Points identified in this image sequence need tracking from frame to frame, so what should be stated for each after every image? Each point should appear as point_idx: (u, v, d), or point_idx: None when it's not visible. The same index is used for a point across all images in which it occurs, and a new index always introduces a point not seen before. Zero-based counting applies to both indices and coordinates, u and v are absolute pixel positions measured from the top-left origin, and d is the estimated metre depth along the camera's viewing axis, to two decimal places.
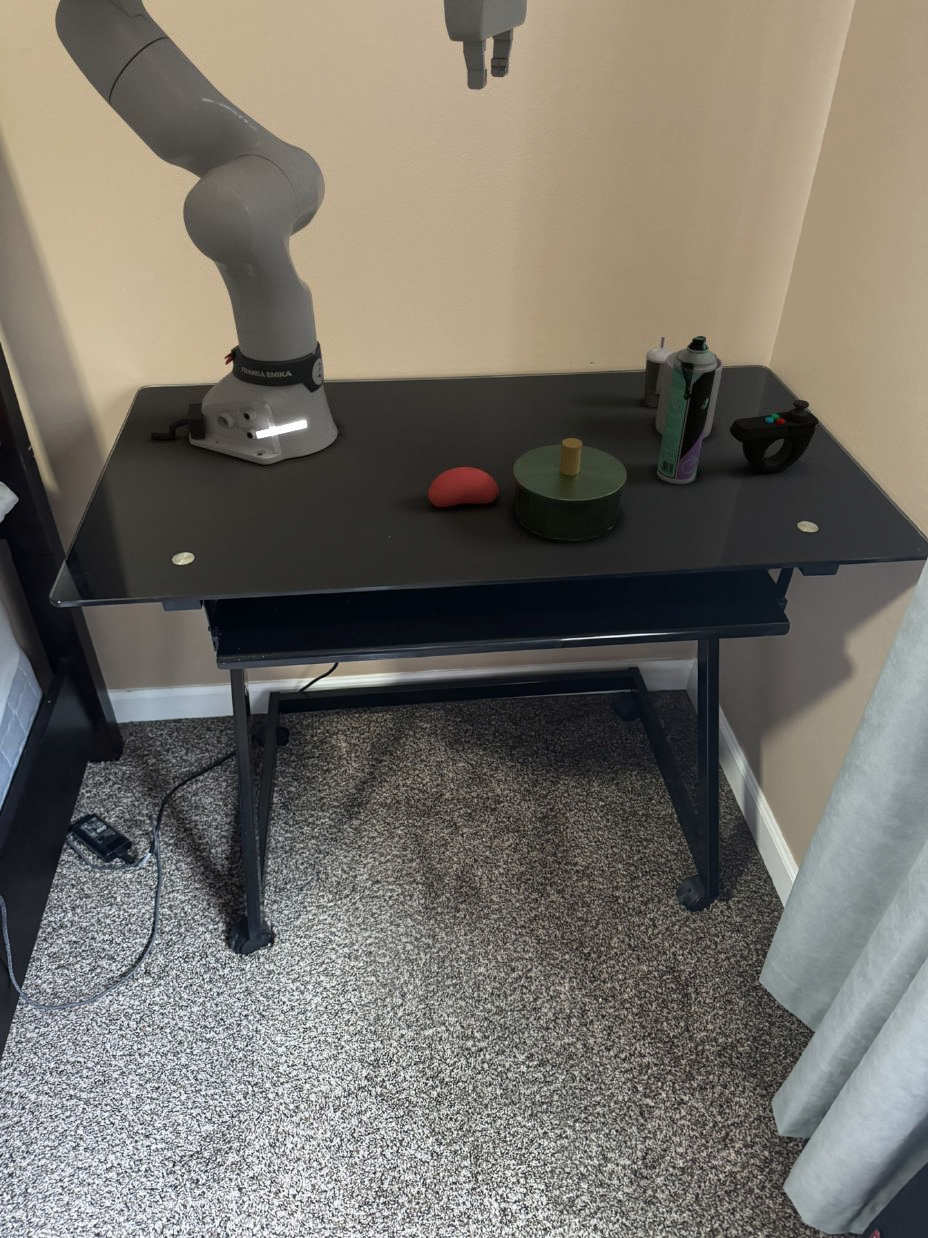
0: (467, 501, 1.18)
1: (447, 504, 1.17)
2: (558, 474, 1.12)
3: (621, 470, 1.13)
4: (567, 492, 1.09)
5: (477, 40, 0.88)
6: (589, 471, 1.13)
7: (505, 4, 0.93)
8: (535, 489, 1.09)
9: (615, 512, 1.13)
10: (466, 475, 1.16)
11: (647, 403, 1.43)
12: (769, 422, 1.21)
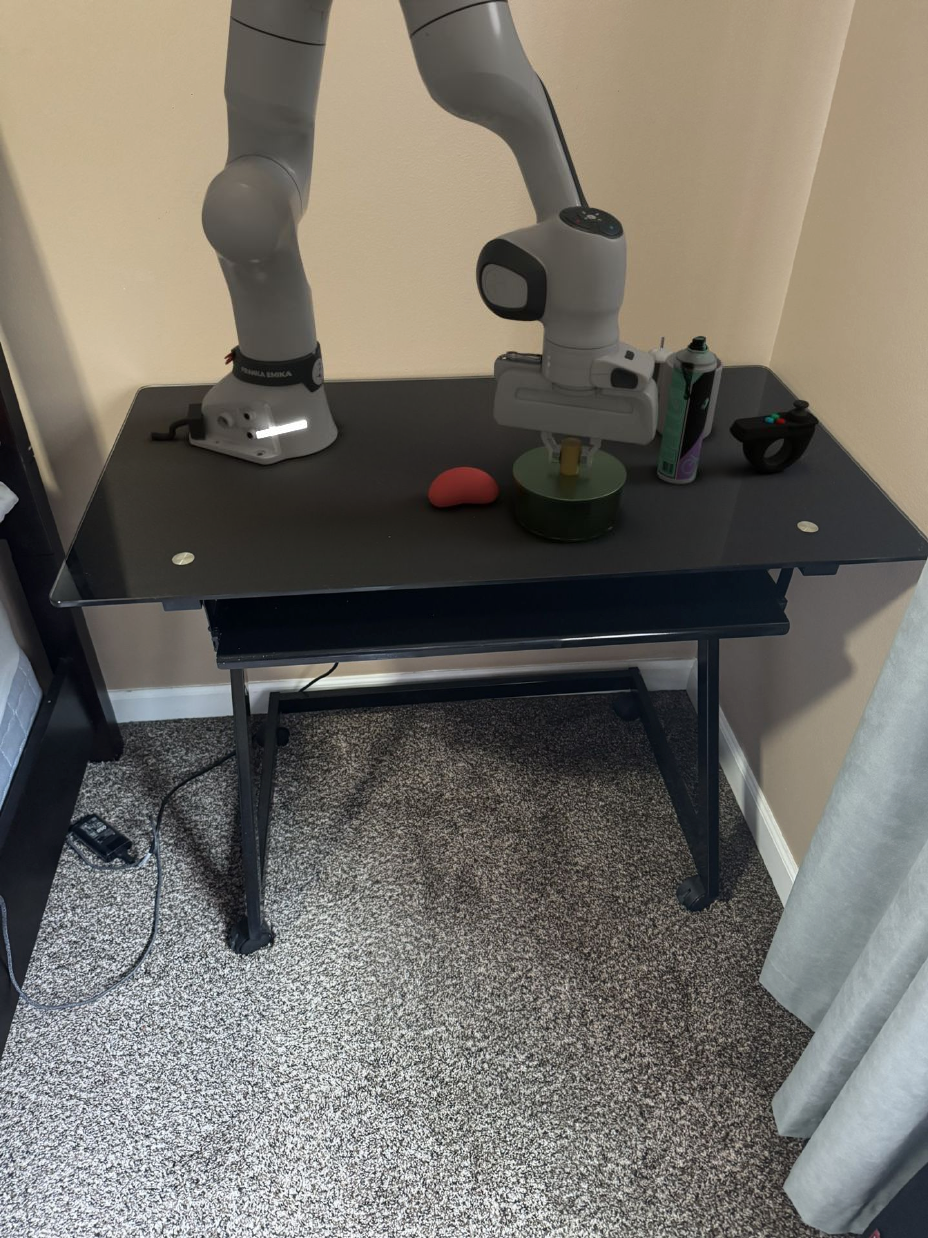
0: (467, 501, 1.18)
1: (447, 504, 1.17)
2: (558, 474, 1.12)
3: (621, 470, 1.13)
4: (567, 492, 1.09)
5: None
6: (589, 471, 1.13)
7: None
8: (535, 489, 1.10)
9: (615, 512, 1.13)
10: (466, 475, 1.16)
11: None
12: (769, 422, 1.21)
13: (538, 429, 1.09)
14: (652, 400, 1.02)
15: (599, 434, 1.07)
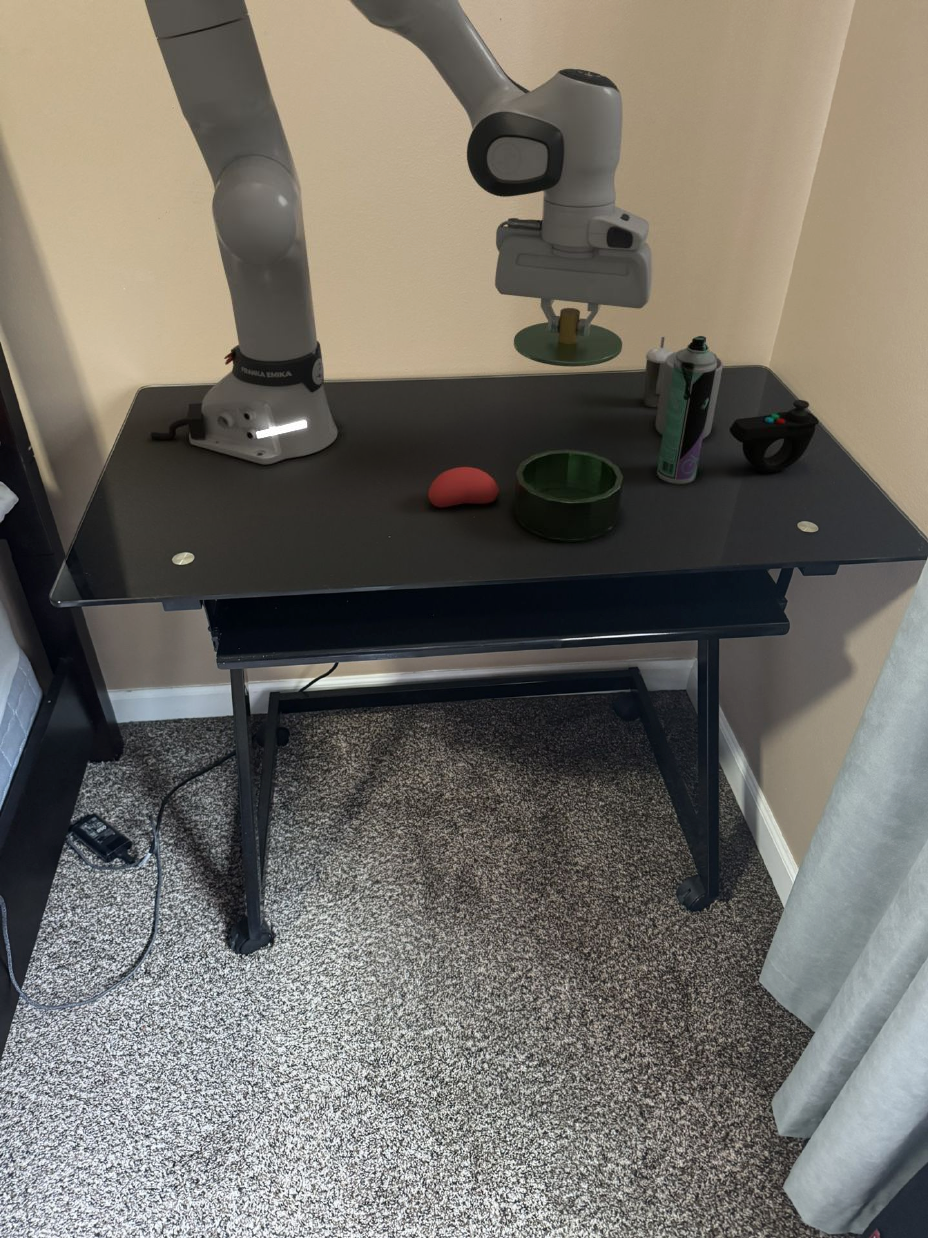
0: (467, 501, 1.18)
1: (447, 504, 1.17)
2: (557, 343, 1.18)
3: (617, 340, 1.18)
4: (565, 356, 1.14)
5: None
6: (586, 341, 1.18)
7: None
8: (534, 354, 1.15)
9: (615, 512, 1.13)
10: (466, 475, 1.16)
11: (647, 403, 1.43)
12: (769, 422, 1.21)
13: (538, 296, 1.14)
14: (646, 261, 1.07)
15: (596, 299, 1.12)
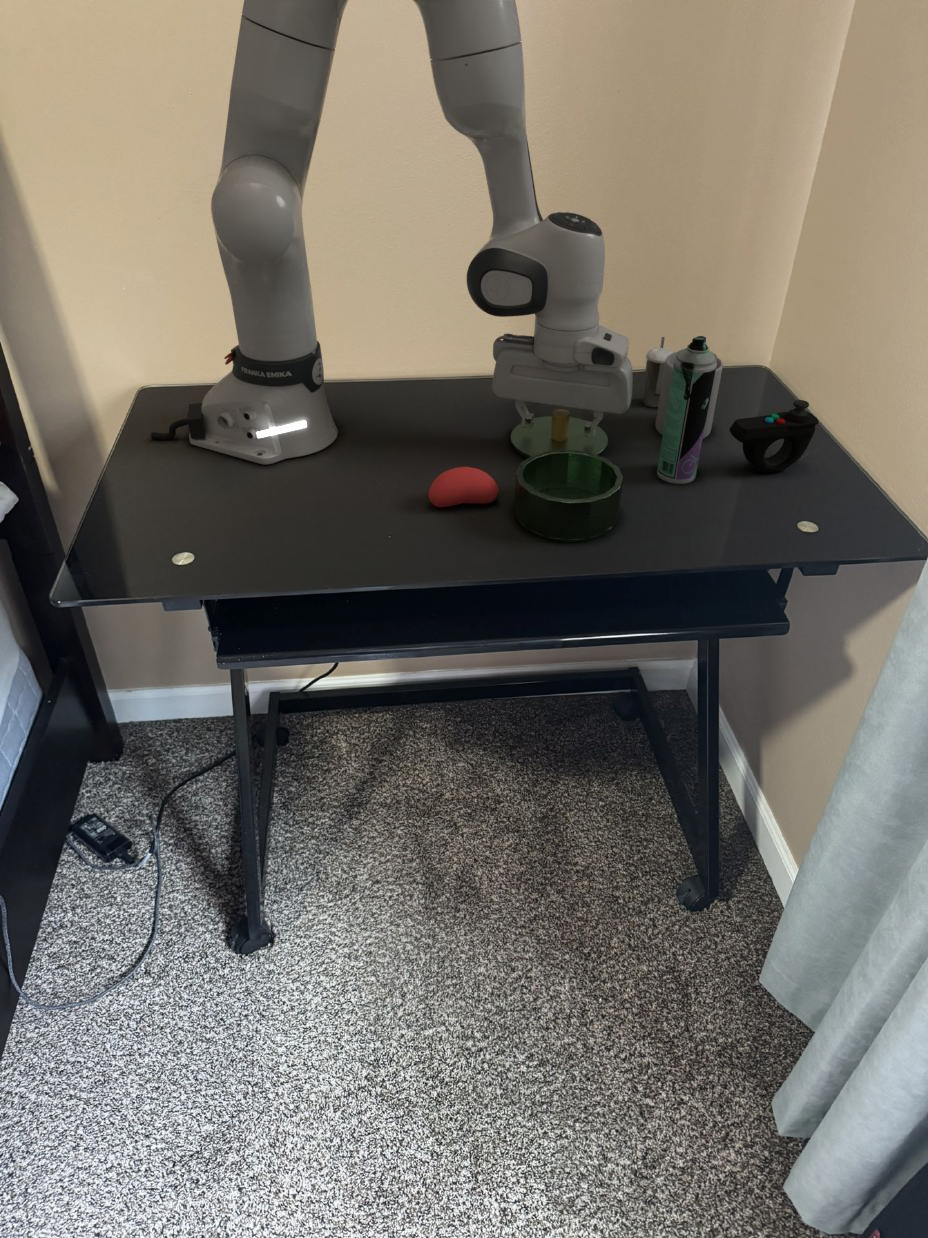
0: (467, 501, 1.18)
1: (447, 503, 1.17)
2: (549, 440, 1.31)
3: (603, 437, 1.32)
4: None
5: None
6: (576, 437, 1.32)
7: None
8: (529, 452, 1.28)
9: (615, 512, 1.13)
10: (466, 475, 1.16)
11: (647, 403, 1.43)
12: (769, 422, 1.21)
13: (530, 401, 1.28)
14: (627, 375, 1.21)
15: (582, 405, 1.25)
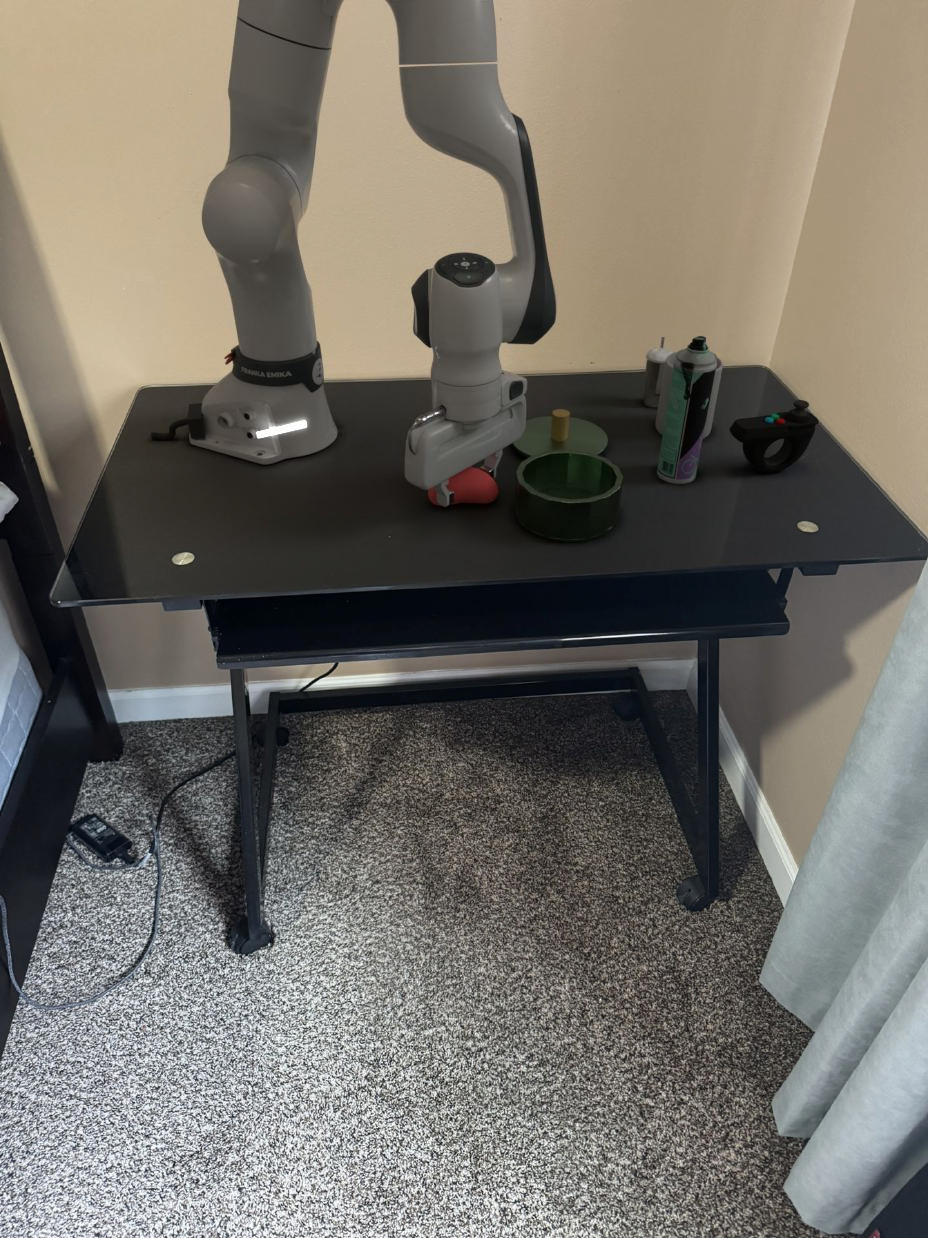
0: (466, 500, 1.18)
1: None
2: (549, 440, 1.31)
3: (603, 437, 1.32)
4: None
5: None
6: (576, 437, 1.32)
7: None
8: (529, 452, 1.28)
9: (615, 512, 1.13)
10: (466, 475, 1.16)
11: (647, 403, 1.43)
12: (769, 422, 1.21)
13: (456, 473, 1.12)
14: None
15: (495, 449, 1.16)
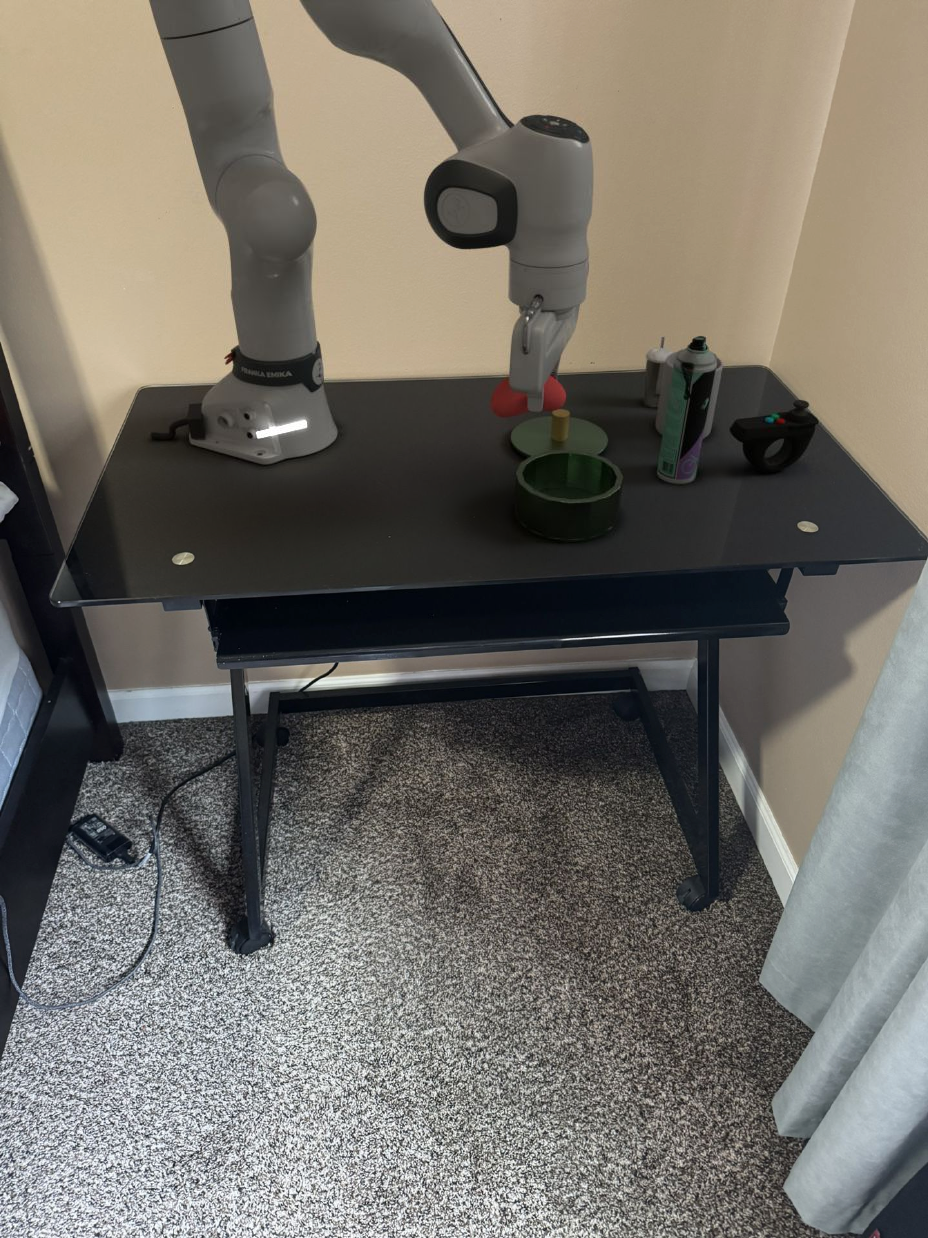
0: None
1: (513, 412, 1.06)
2: (549, 440, 1.31)
3: (603, 437, 1.32)
4: None
5: None
6: (576, 437, 1.32)
7: None
8: (529, 452, 1.28)
9: (615, 512, 1.13)
10: None
11: (647, 403, 1.43)
12: (769, 422, 1.21)
13: (550, 373, 1.01)
14: None
15: (565, 344, 1.06)
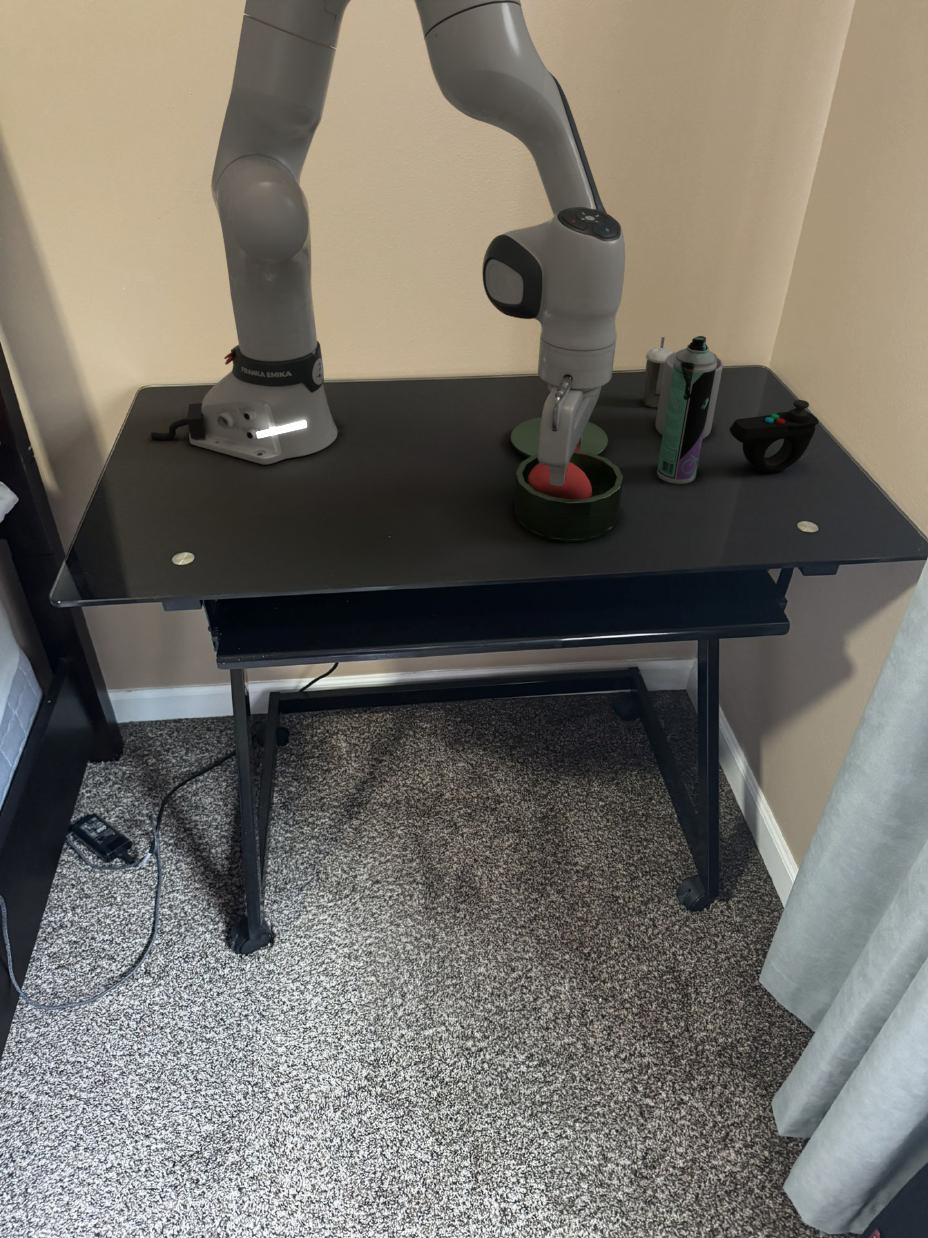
0: (562, 497, 1.14)
1: (546, 491, 1.12)
2: None
3: (603, 437, 1.32)
4: None
5: None
6: None
7: None
8: (529, 452, 1.28)
9: (615, 512, 1.13)
10: (576, 474, 1.12)
11: (647, 403, 1.43)
12: (769, 422, 1.21)
13: (576, 446, 1.06)
14: None
15: (589, 416, 1.11)
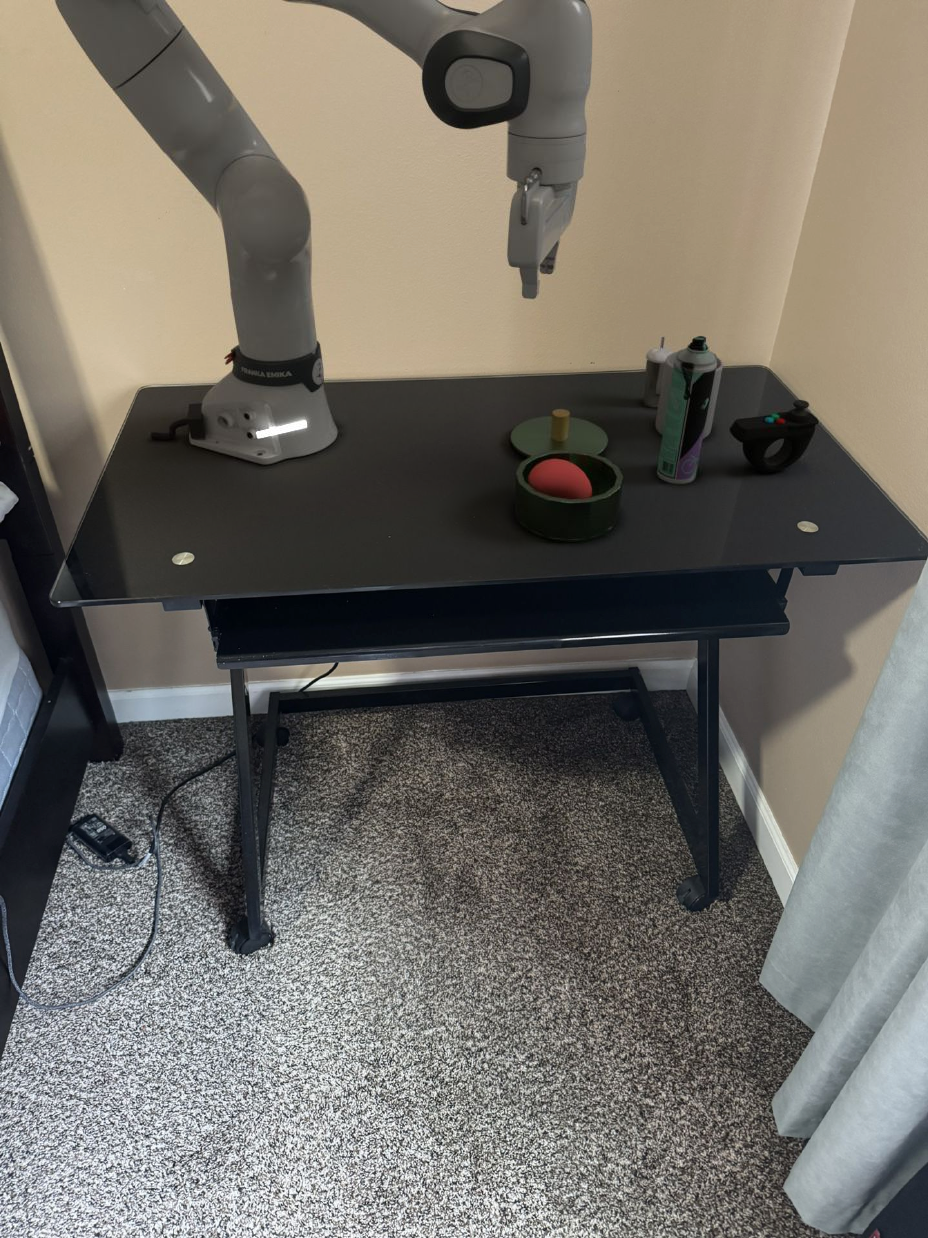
0: (562, 497, 1.14)
1: (546, 491, 1.12)
2: (549, 440, 1.31)
3: (603, 437, 1.32)
4: None
5: None
6: (576, 437, 1.32)
7: None
8: (529, 452, 1.28)
9: (615, 512, 1.13)
10: (576, 474, 1.12)
11: (647, 403, 1.43)
12: (769, 422, 1.21)
13: (548, 253, 1.01)
14: None
15: (562, 231, 1.07)
